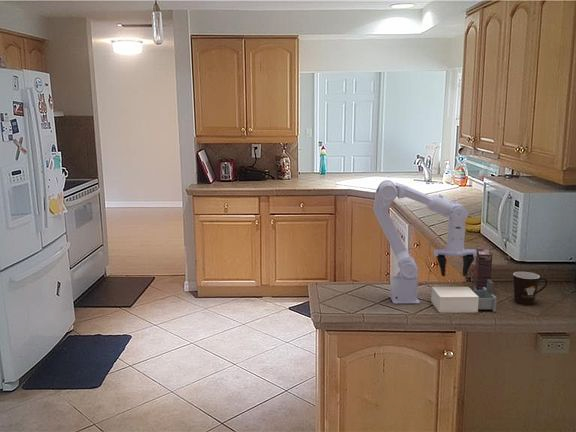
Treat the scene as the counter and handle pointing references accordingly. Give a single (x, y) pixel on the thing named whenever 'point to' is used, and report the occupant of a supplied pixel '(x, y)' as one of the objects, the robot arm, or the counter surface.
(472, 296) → the sleeve
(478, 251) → the supplement box
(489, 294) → the tray
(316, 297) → the counter surface
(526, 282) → the coffee mug
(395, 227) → the robot arm
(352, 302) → the counter surface
